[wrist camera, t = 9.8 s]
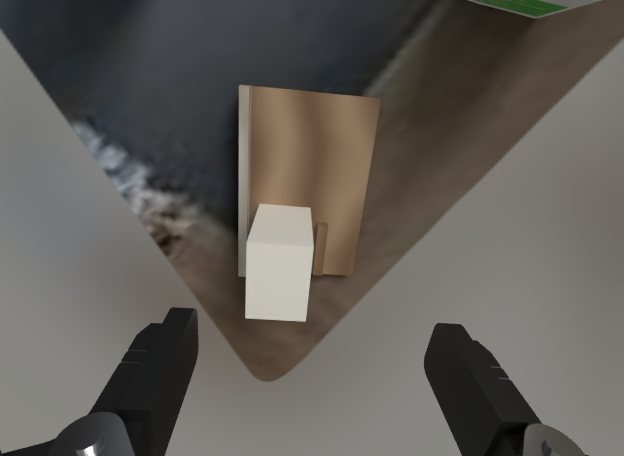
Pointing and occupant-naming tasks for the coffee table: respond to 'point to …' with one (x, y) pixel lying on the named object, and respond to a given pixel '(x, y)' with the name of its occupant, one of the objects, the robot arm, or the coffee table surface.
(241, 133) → the wooden board with ledge
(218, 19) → the coffee table surface
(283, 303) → the carton
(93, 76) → the coffee table surface
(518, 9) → the skincare box
